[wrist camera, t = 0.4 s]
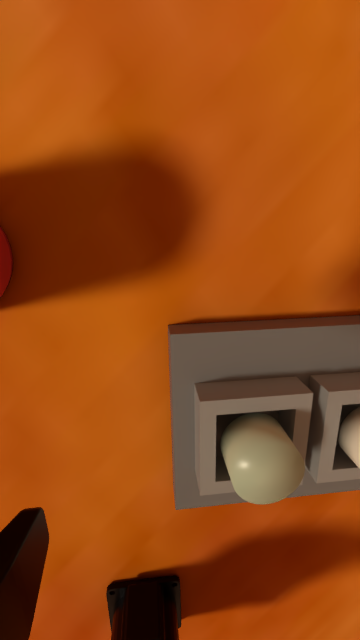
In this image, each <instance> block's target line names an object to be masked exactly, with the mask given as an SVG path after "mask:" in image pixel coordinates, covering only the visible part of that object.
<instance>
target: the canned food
mask: <svg viewBox="0 0 360 640" xmlns="http://www.w3.org/2000/svg"><path fill="white" fill-rule="evenodd" d="M12 268H13V257H12V251H11V247H10V244H9V241H8V239H7V236H6V234H5V233H4V231H3V229H2V228H1V226H0V298H1V296H2V295H3V293H4V291H5V289H6V287H7V285H8V283H9V281H10V278H11V274H12Z"/></svg>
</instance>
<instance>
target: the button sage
mask: <svg viewBox="0 0 360 640" xmlns="http://www.w3.org/2000/svg"><path fill="white" fill-rule="evenodd" d="M220 448H221V452H222V455H223V458H224V461H225V464H226V467H227V470H228V473H229V476H230V479H231V482H232V484H233V487H234V490H235V491H236V493H237V494H238V495H239V496H240V497H241V498H242V499H244V500H245V501H248V502H250V503H254V504H270V503H274V502H277V501H280V500H282V499H284V498H286V497H287V496H289V495H290V494H291V493H293V492H294V491H295V490H296V489H297V487H298V486H299V485H300V483H301V481H302V479H303V476H304V473H305V463H304V460H303V457H302V456H301V454H300V453H299V451H298V450H297V448H296V447H295V445H294V444H293V443H292V441H291V440H290V438H289V437H288V435H287V434H286V432H285V431H284V429H283V428H282V427H281V425H280V424H279V422H278V421H277V420H276V419H275V418H273V417H272V416H270V415H267V414H264V413H249V414H245V415H243V416H240V417H238V418H237V419H235V420H234V421H232V422H231V423H230V424H229V425H228V426H227V427H226V429H225V430H224V432H223V434H222V437H221V442H220Z"/></svg>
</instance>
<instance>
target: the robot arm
mask: <svg viewBox="0 0 360 640" xmlns="http://www.w3.org/2000/svg"><path fill="white" fill-rule="evenodd" d="M48 544H49V532H48V528H47V523H46V519H45V514H44V511H43V509H42V508H41V507H36V508H27V509H24V510H22V511H20V512H19V513H18V514H17V515H16V516H15V518H14V519H13V520H12V521H11V522H10V523H9V524H8V525H7V526H6V527H5V528H4V529H3V530H2V531H1V532H0V640H28V639H29V635H30V631H31V627H32V622H33V618H34V613H35V608H36V603H37V598H38V593H39V589H40V584H41V579H42V574H43V569H44V564H45V559H46V555H47V550H48ZM106 594H107V602H108V610H109V617H110V625H111V632H112V635H111V640H179V635H178V628H180V627H181V601H180V579H179V577H178V576H169V577H162V578H154V579H146V580H139V581H131V582H123V583H115V584H110V585H108V587H107V593H106Z"/></svg>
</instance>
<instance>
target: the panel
mask: <svg viewBox="0 0 360 640" xmlns="http://www.w3.org/2000/svg"><path fill="white" fill-rule="evenodd" d="M168 342H169V371H170V400H171V429H172V458H173V487H174V498H175V508H176V510H178V509H187V508H197V507H206V506H215V505H224V504H233V503H242V502H248V501H245V500H244V499H242V498H241V497H240V496H239V495H238V494H237V493H236V491H235V490H234V487H233V484H232V482H231V479H230V476H229V473H228V470H227V467H226V464H225V461H224V458H223V455H222V452H221V448H220V442H221V437H222V434H223V432H224V430H225V429H226V427H227V426H228V425H229V424H230V423H231V422H232V421H234V420H235V419H237V418H238V417H240V416H243V415H245V414H249V413H264V414H267V415H270V416H272V417H273V418H275V419H276V420H277V421H278V422H279V424H280V425H281V427H282V428H283V429H284V431H285V432H286V434H287V435H288V437H289V438H290V440H291V441H292V443H293V444H294V445H295V447H296V448H297V450H298V451H299V453H300V454H301V456H302V457H303V460H304V463H305V473H304V476H303V479H302V481H301V483H300V485H299V486H298V487H297V489H296V490H295V491H294V492H293V493H291V494H290V495H289V496H287V497H286V498H288V497H298V496H307V495H316V494H325V493H334V492H343V491H353V490H360V469H359V468H358V466H357V465H356V464H355V463H354V462H353V461H352V460H351V459H350V457H349V456H348V455H347V454H346V453H345V452H344V451H343V450H342V448H341V447H340V445H339V442H338V431H339V428H340V426H341V424H342V422H343V420H344V419H345V418H346V417H347V416H348V415H349V414H350V413H351V412H352V411H353V410H355V409H357V408H358V407H360V315H354V316H335V317H315V318H296V319H276V320H256V321H237V322H217V323H198V324H178V325H168Z"/></svg>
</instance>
